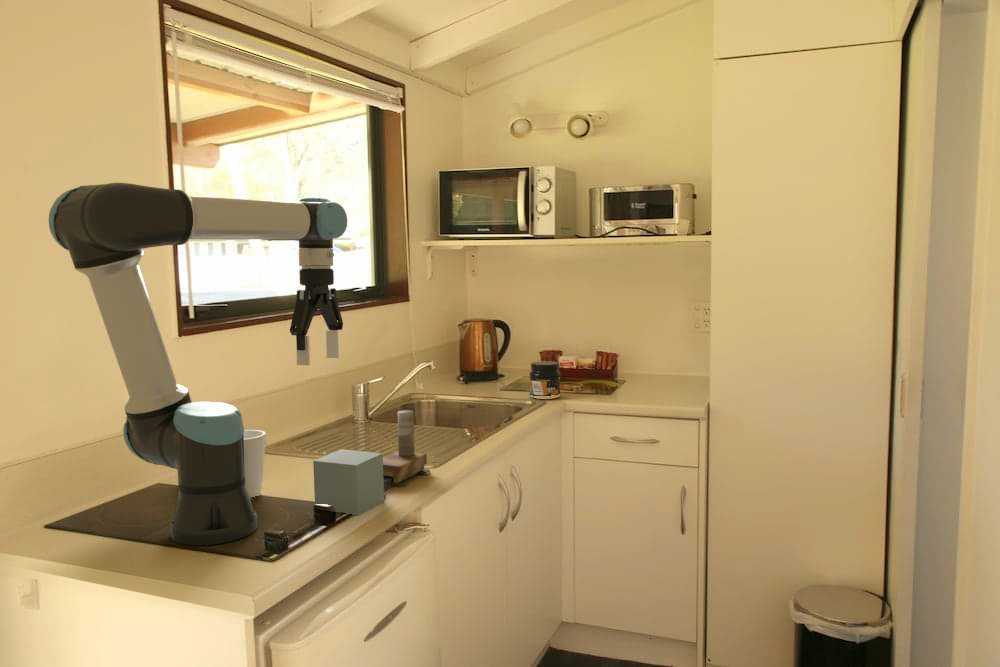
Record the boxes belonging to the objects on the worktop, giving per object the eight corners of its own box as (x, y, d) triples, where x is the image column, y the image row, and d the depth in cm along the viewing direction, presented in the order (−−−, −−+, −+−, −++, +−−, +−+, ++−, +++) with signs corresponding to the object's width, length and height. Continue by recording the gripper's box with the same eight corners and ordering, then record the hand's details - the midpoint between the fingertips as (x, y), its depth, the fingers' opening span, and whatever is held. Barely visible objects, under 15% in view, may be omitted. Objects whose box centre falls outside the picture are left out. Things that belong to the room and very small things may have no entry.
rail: (380, 500, 167) (380, 490, 167) (347, 495, 170) (347, 486, 170) (429, 472, 187) (429, 464, 187) (399, 469, 190) (399, 461, 190)
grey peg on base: (400, 483, 176) (398, 421, 174) (372, 480, 178) (370, 418, 177) (426, 469, 187) (425, 410, 185) (400, 466, 189) (398, 408, 188)
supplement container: (533, 401, 272) (533, 365, 270) (526, 395, 282) (526, 361, 281) (564, 399, 274) (563, 364, 272) (556, 394, 284) (555, 360, 283)
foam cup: (245, 486, 179) (243, 428, 177) (277, 491, 174) (275, 432, 173) (212, 498, 170) (209, 437, 169) (245, 504, 166) (241, 441, 165)
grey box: (344, 495, 171) (342, 448, 170) (385, 500, 167) (383, 452, 166) (315, 509, 162) (313, 460, 161) (357, 515, 158) (356, 465, 157)
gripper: (303, 268, 170) (305, 368, 172) (356, 267, 194) (357, 355, 196) (271, 268, 172) (274, 367, 174) (327, 267, 196) (329, 354, 198)
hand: (318, 361), depth 185 cm, fingers open, 13 cm apart
